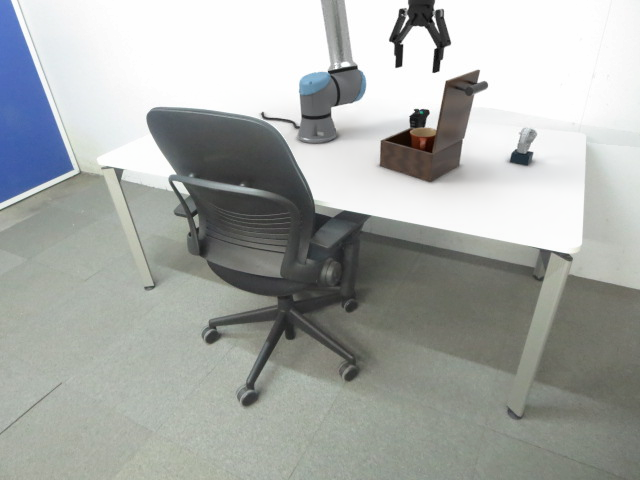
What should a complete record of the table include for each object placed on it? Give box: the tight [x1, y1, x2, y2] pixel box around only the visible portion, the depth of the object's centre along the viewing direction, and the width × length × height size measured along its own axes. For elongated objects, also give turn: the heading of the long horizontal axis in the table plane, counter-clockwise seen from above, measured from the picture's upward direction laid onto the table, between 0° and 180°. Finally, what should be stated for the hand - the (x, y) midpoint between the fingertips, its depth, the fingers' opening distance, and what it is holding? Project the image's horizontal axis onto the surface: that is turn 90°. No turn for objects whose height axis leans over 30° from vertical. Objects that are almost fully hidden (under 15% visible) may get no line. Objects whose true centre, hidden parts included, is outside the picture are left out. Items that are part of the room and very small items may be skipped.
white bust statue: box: [509, 126, 538, 167], centre depth 136 cm, size 6×8×11 cm
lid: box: [432, 69, 489, 154], centre depth 121 cm, size 21×17×6 cm
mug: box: [410, 127, 436, 153], centre depth 136 cm, size 12×9×10 cm
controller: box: [408, 108, 431, 128], centre depth 164 cm, size 4×12×10 cm, turn 145°
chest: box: [379, 127, 464, 183], centre depth 137 cm, size 20×17×9 cm
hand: (416, 69), depth 130 cm, fingers open, 13 cm apart
